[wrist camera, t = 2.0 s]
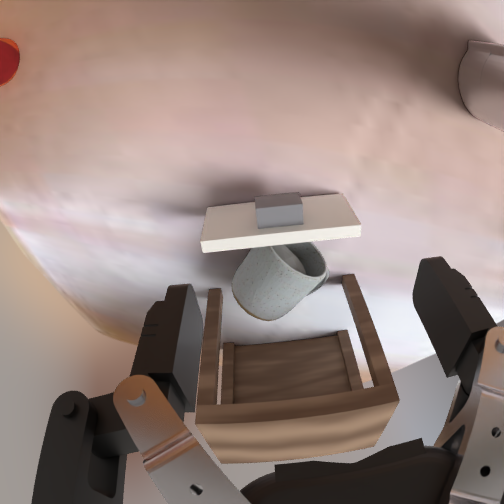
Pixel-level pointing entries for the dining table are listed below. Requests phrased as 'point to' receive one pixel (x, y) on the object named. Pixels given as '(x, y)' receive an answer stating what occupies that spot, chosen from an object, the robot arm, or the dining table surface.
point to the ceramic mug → (278, 278)
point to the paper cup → (8, 60)
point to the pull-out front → (278, 222)
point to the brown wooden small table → (293, 391)
